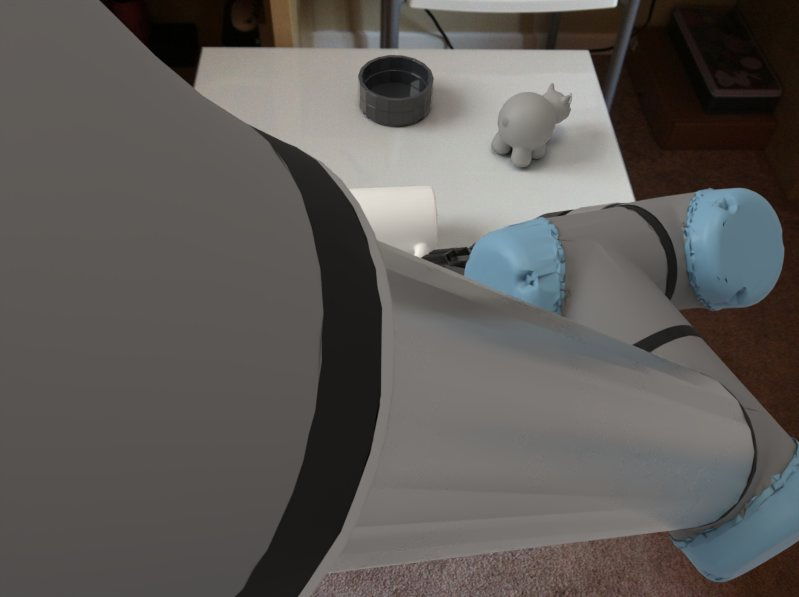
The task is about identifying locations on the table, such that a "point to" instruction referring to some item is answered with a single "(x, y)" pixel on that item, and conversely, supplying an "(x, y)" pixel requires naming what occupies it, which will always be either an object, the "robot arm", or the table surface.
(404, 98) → the dark grey round container
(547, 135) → the round bodied animal figurine
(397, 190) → the mug
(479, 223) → the table surface
